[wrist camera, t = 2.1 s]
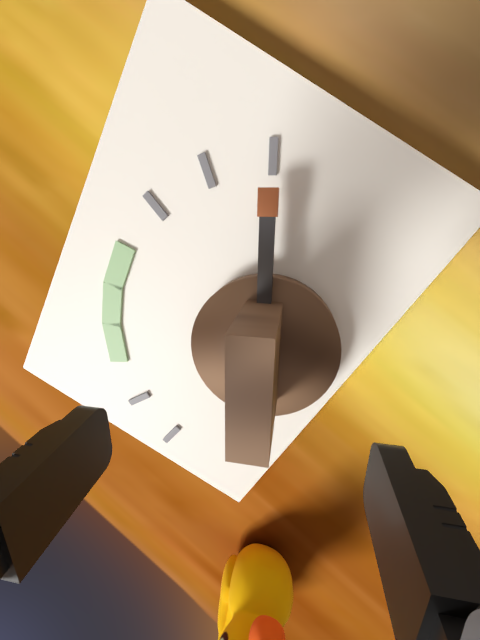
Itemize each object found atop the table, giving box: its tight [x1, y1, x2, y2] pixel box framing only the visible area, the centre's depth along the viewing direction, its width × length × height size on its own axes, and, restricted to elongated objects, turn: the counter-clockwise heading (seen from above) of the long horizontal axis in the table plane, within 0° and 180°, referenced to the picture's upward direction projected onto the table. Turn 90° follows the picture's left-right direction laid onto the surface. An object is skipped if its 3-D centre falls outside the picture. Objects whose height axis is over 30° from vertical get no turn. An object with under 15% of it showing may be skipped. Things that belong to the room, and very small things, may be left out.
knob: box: [191, 187, 342, 468], centre depth 14 cm, size 12×8×6 cm, turn 0°
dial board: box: [23, 0, 480, 502], centre depth 18 cm, size 18×23×2 cm
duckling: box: [218, 543, 293, 640], centre depth 20 cm, size 11×5×10 cm, turn 165°
